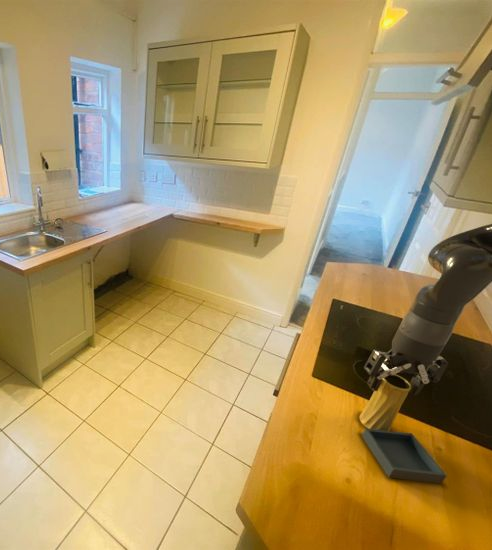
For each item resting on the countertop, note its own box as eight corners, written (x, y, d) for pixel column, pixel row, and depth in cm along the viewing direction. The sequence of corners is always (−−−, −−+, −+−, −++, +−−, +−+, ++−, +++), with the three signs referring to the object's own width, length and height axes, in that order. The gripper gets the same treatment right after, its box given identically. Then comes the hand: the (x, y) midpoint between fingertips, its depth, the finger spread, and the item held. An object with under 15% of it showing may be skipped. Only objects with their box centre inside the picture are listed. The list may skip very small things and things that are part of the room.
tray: (407, 440, 71) (412, 433, 70) (441, 483, 63) (447, 475, 61) (361, 435, 72) (365, 428, 71) (388, 477, 64) (393, 469, 62)
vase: (354, 412, 78) (374, 370, 72) (379, 415, 78) (402, 372, 72) (367, 433, 73) (390, 389, 67) (395, 436, 72) (421, 392, 66)
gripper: (398, 341, 61) (369, 399, 68) (476, 347, 59) (437, 406, 66) (375, 320, 67) (350, 375, 74) (444, 325, 66) (412, 381, 73)
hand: (391, 390), depth 70 cm, fingers open, 8 cm apart
